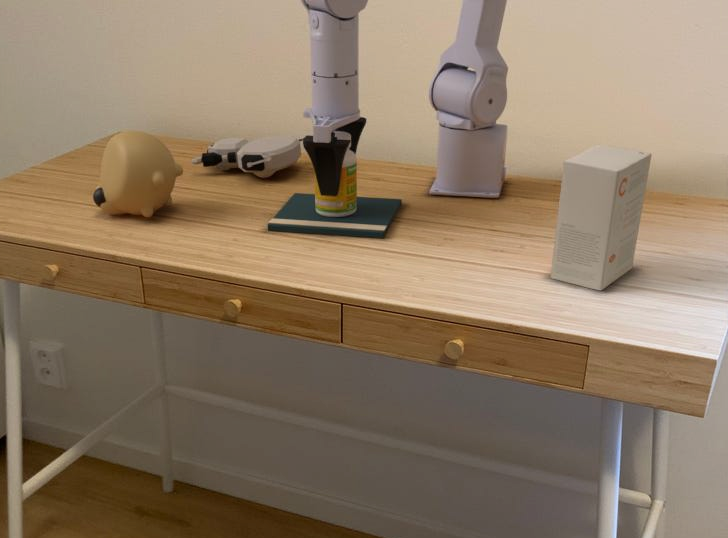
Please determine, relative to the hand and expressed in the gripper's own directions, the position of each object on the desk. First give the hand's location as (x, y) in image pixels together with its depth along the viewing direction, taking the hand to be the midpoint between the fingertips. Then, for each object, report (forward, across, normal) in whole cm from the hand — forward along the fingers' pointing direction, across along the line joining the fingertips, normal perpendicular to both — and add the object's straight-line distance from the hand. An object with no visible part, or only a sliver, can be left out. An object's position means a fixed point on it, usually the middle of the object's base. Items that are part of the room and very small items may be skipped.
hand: (336, 185), depth 119 cm
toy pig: (+4, +3, -26) cm, 27 cm away
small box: (+4, +13, +32) cm, 35 cm away
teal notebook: (+4, 0, 0) cm, 4 cm away
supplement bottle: (+4, 0, 0) cm, 4 cm away
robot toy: (+4, -18, -18) cm, 25 cm away
